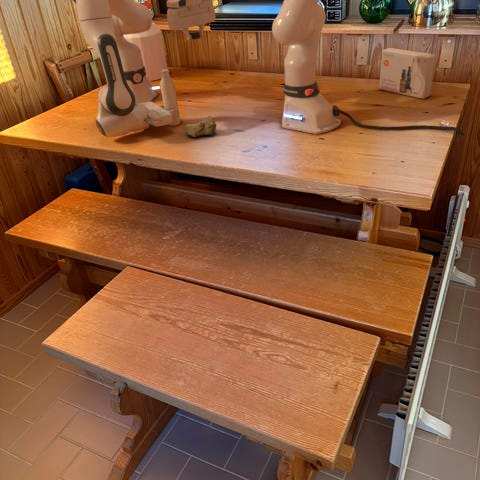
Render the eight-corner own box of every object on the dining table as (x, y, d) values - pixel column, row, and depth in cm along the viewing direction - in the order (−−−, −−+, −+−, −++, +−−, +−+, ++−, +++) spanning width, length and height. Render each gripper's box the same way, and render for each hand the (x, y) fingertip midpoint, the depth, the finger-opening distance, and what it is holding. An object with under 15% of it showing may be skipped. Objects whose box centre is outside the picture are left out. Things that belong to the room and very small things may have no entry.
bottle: (168, 121, 185) (158, 68, 173) (181, 120, 184) (172, 67, 173) (166, 126, 180) (156, 72, 169) (179, 125, 180) (170, 71, 168)
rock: (185, 134, 174) (189, 139, 165) (182, 117, 171) (186, 121, 162) (213, 129, 176) (218, 134, 167) (210, 112, 173) (216, 117, 164)
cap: (191, 39, 175) (190, 33, 174) (187, 38, 178) (186, 32, 177) (201, 38, 177) (201, 31, 175) (197, 36, 180) (196, 30, 179)
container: (160, 81, 233) (149, 21, 217) (121, 82, 238) (108, 23, 222) (174, 69, 249) (165, 13, 233) (138, 70, 254) (126, 15, 238)
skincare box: (377, 89, 194) (381, 50, 185) (385, 86, 197) (389, 47, 188) (423, 99, 180) (429, 56, 171) (430, 95, 183) (437, 53, 174)
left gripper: (149, 116, 165) (183, 106, 170) (129, 102, 179) (161, 94, 185) (152, 133, 168) (186, 123, 174) (132, 118, 183) (164, 110, 188)
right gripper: (206, -7, 177) (210, 32, 185) (162, 2, 167) (168, 43, 174) (216, -6, 173) (220, 34, 181) (172, 3, 163) (178, 45, 170)
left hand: (173, 108), depth 179 cm, fingers closed on bottle, 5 cm apart
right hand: (194, 38), depth 178 cm, fingers closed on cap, 4 cm apart
